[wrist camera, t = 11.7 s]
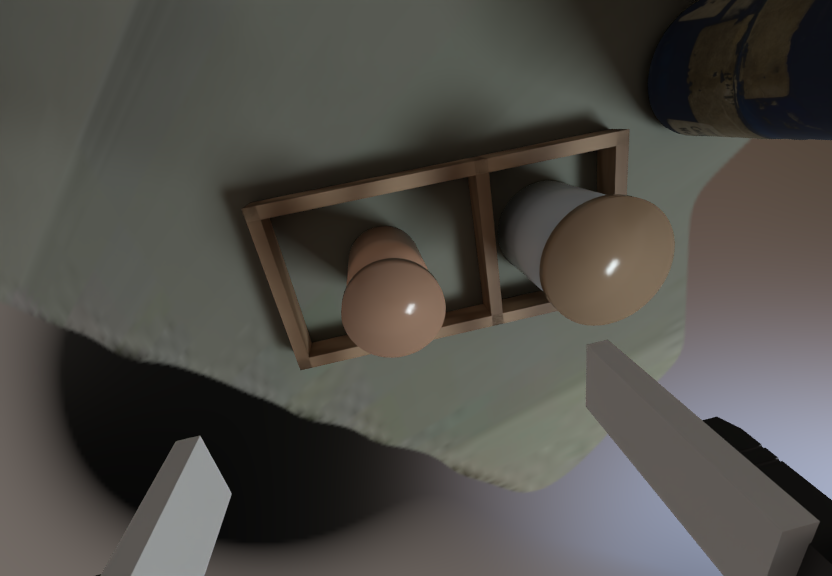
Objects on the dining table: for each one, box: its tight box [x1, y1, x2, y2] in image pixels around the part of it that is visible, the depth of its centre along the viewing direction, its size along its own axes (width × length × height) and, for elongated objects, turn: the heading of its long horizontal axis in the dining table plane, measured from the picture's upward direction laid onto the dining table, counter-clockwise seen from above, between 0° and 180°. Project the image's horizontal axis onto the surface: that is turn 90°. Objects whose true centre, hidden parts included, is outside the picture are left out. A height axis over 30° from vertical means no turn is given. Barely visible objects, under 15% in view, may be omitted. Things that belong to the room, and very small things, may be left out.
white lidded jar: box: [498, 181, 675, 326], centre depth 29 cm, size 9×9×10 cm
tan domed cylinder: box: [341, 226, 446, 358], centre depth 28 cm, size 6×6×10 cm
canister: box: [648, 0, 832, 140], centre depth 22 cm, size 10×10×18 cm
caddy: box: [242, 129, 629, 370], centre depth 32 cm, size 29×14×2 cm, turn 100°
